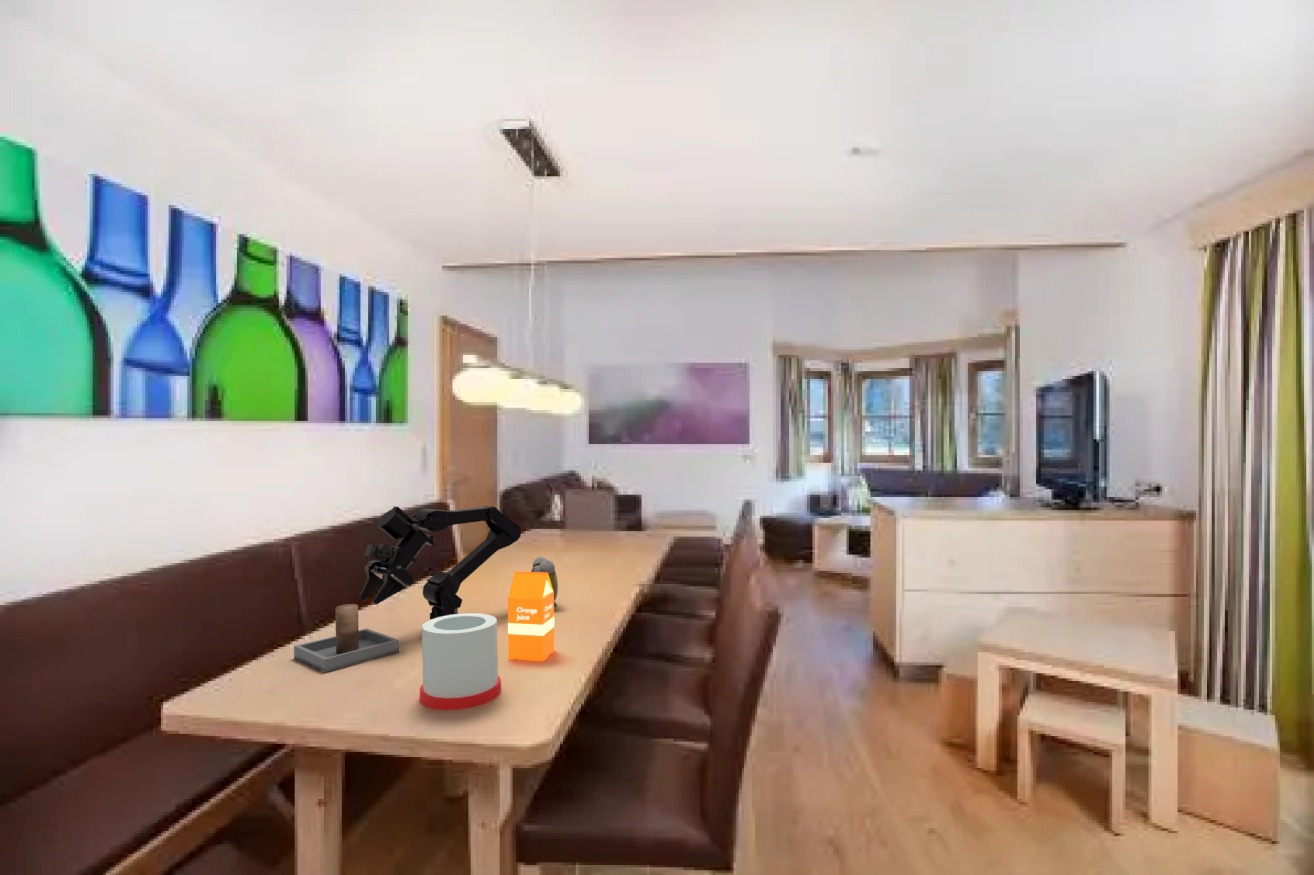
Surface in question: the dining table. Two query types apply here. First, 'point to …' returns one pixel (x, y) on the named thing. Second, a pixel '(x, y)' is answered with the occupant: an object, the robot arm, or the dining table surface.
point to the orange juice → (530, 616)
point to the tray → (326, 658)
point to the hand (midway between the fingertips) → (367, 601)
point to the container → (459, 661)
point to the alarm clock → (547, 567)
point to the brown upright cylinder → (347, 628)
